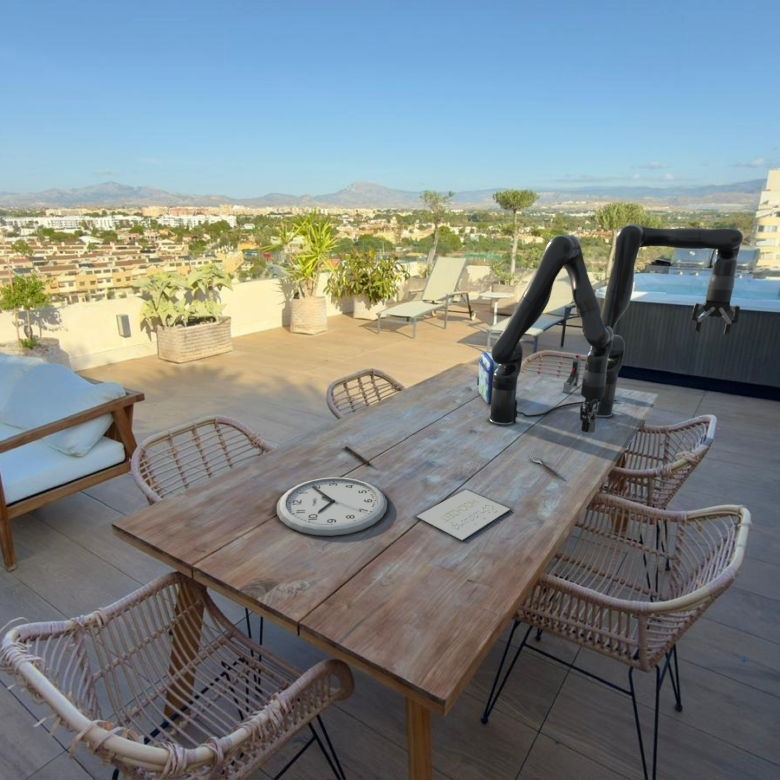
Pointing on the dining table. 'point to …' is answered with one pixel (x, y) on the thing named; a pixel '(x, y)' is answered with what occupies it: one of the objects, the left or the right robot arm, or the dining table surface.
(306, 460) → the dining table surface
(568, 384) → the toy gun
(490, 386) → the lunch box
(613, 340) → the right robot arm
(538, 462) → the fork
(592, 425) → the tin
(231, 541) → the dining table surface
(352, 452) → the dark brown stick
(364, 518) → the wall clock
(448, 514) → the invitation card
